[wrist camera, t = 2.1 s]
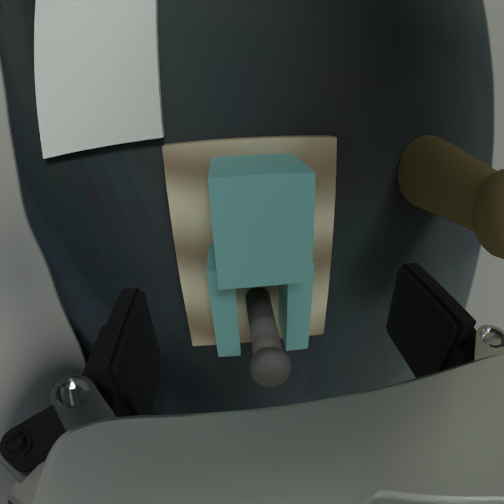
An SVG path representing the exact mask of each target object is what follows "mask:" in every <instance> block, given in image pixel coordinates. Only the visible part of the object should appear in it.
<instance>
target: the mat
mask: <svg viewBox="0 0 504 504" xmlns="http://www.w3.org/2000/svg"><path fill="white" fill-rule="evenodd" d="M34 68H35V88H36V102H37V113H38V122H39V131H40V138H41V146H42V152H43V159H45V158H50V157H54V156H58V155H63V154H68V153H72V152H77V151H82V150H87V149H93V148H98V147H104V146H110V145H115V144H122V143H128V142H135V141H142V140H149V139H157V138H163V137H164V125H163V113H162V100H161V85H160V68H159V46H158V5H157V0H36V6H35V26H34Z"/></svg>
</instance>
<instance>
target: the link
mask: <svg viewBox="0 0 504 504" xmlns="http://www.w3.org/2000/svg"><path fill="white" fill-rule="evenodd" d="M208 186H209V198H210V209H211V220H212V231H213V241H214V246H208V259H207V279H208V287H209V294H210V302H211V309H212V317H213V324H214V331H215V338H216V344H217V351H218V357H227V356H240V355H241V349H240V338H239V326H238V314H237V302H236V290H235V289H236V288H249V287H261V286H272V285H279V316H278V321H279V325H280V329H281V333H282V337H283V341H284V345H285V349H286V351H291V350H299V349H307V348H308V341H309V330H310V318H311V305H312V292H313V277H314V262H313V260H312V259H313V238H314V211H315V172H314V171H313V170H312V169H311V168H309V167H308V166H307V165H306V164H304V163H303V162H302V161H301V160H299V159H298V158H297V157H296V156H294V155H293V154H292V153H282V154H258V155H240V156H225V157H212V158H211V162H210V168H209V174H208Z"/></svg>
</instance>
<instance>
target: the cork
mask: <svg viewBox="0 0 504 504" xmlns="http://www.w3.org/2000/svg"><path fill="white" fill-rule="evenodd" d="M398 183H399V187H400V191H401V192H402V194H403V196H404V197H405V199H406V200H407V201H408V202H410V203H411V204H412V205H414V206H416V207H419V208H421V209H424V210H426V211H428V212H431V213H433V214H436V215H438V216H440V217H443V218H445V219H447V220H450V221H452V222H454V223H457V224H459V225H461V226H463V227H466V228H468V229H470V230H472V231H474V232H475V235H476V238H477V239H478V241H479V242H480V243H481V245H482V246H483V247H484V248H485V249H486V250H487V251H488V252H489V253H490V254H492V255H494V256H496V257H499V258H503V259H504V170H503V169H501V170H499V171H496V170H495V169H493V168H492V167H490V166H489V165H487V164H485V163H484V162H482V161H480V160H479V159H477V158H475V157H474V156H472V155H470V154H469V153H467V152H465V151H463V150H462V149H460V148H458V147H456V146H455V145H453V144H451V143H449V142H447V141H445V140H443V139H441V138H439V137H437V136H435V135H424V136H421V137H418V138H416V139H415V140H414V141H412V142H411V143H410V144H409V145H408V146H407V148H406V149H405V151H404V152H403V154H402V156H401V159H400V162H399V165H398Z"/></svg>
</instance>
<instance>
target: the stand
mask: <svg viewBox="0 0 504 504" xmlns="http://www.w3.org/2000/svg"><path fill="white" fill-rule="evenodd" d="M162 151H163V161H164V170H165V179H166V187H167V195H168V203H169V210H170V217H171V224H172V231H173V238H174V245H175V251H176V257H177V263H178V269H179V275H180V281H181V287H182V292H183V298H184V303H185V309H186V314H187V319H188V324H189V329H190V334H191V339H192V344H193V346H204V345H217V344H216V338H215V331H214V324H213V317H212V309H211V302H210V294H209V287H208V279H207V259H208V246H214V241H213V231H212V220H211V209H210V198H209V186H208V174H209V168H210V162H211V158H212V157H225V156H240V155H258V154H282V153H292V154H293V155H294V156H296V157H297V158H298V159H299V160H301V161H302V162H303V163H304V164H306V165H307V166H308V167H309V168H311V169H312V170H313V171H314V172H315V211H314V238H313V259H312V260H313V262H314V277H313V292H312V305H311V318H310V330H309V336H312V335H320V334H323V333H324V325H325V316H326V307H327V298H328V288H329V278H330V266H331V254H332V241H333V226H334V209H335V188H336V159H337V138H336V137H334V136H330V135H295V136H260V137H240V138H224V139H211V140H199V141H189V142H179V143H170V144H165V145H163V146H162ZM235 290H236V302H237V314H238V326H239V338H240V343H246V342H251V344H252V352H253V357H252V358H251V361H250V366H249V368H250V373H251V376H252V378H253V379H254V380H255V381H256V382H257V383H258V384H260V385H262V386H265V387H276V386H279V385H281V384H282V383H284V382H285V381H286V380H287V378H288V377H289V375H290V372H291V361H290V359H289V357H288V355H287V354H286V353H285V352H284V351H283V350H282V346H281V342H280V339H283V337H282V333H281V329H280V325H279V321H278V316H279V285H272V286H261V287H249V288H236V289H235Z"/></svg>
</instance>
